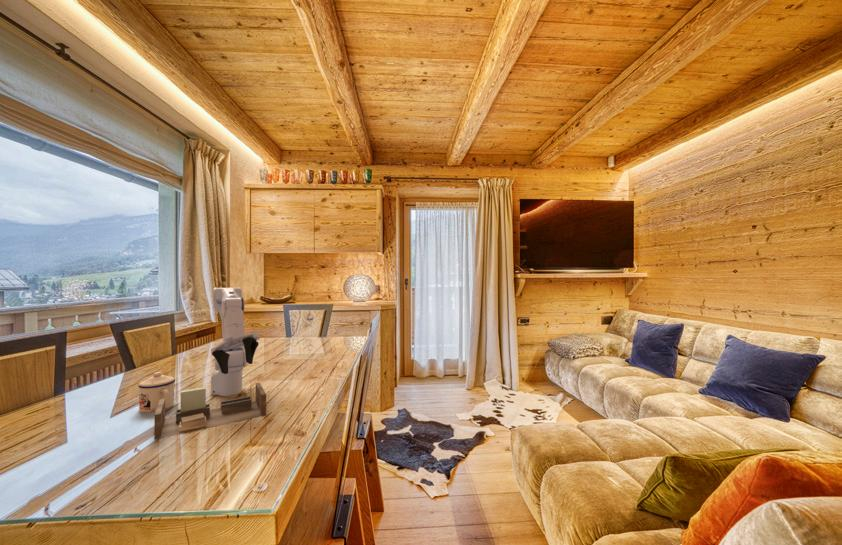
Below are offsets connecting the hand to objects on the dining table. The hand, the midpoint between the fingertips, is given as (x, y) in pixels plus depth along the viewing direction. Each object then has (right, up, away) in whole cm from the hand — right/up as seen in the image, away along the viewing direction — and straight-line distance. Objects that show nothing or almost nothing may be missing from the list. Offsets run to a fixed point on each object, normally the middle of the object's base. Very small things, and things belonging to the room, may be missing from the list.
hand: (237, 367), depth 99 cm
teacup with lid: (-27, -15, +4) cm, 31 cm away
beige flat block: (-11, -14, -3) cm, 18 cm away
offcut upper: (-7, -12, -9) cm, 17 cm away
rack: (-5, -14, -3) cm, 16 cm away
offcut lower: (-7, -13, -9) cm, 18 cm away
